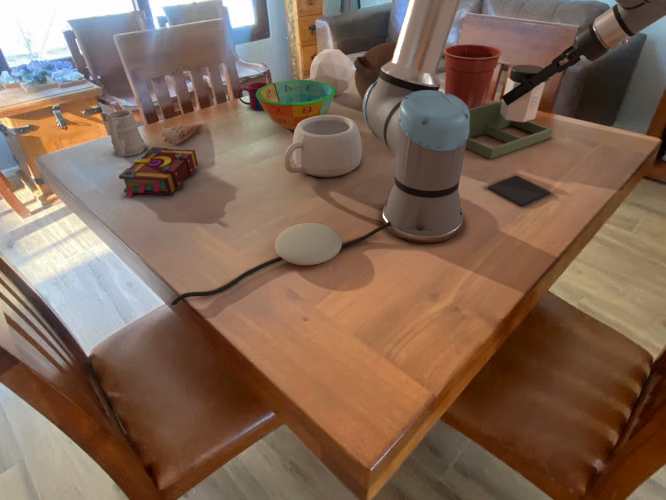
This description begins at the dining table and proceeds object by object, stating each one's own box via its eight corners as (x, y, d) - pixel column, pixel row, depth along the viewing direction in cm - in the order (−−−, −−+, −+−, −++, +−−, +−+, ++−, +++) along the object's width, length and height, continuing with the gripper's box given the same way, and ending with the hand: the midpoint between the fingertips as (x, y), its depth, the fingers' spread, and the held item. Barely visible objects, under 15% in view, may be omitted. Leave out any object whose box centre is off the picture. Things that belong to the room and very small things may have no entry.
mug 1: (149, 143, 117) (135, 99, 109) (137, 163, 107) (122, 116, 100) (120, 145, 116) (105, 101, 109) (106, 165, 107) (88, 118, 100)
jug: (356, 101, 140) (374, 154, 120) (345, 41, 126) (364, 90, 105) (417, 85, 139) (446, 135, 119) (413, 23, 124) (445, 68, 104)
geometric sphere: (323, 111, 148) (295, 78, 139) (334, 83, 155) (308, 50, 146) (356, 96, 139) (328, 59, 130) (366, 67, 146) (339, 30, 137)
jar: (518, 125, 108) (531, 75, 101) (493, 115, 113) (503, 67, 106) (541, 117, 112) (555, 69, 104) (515, 108, 117) (527, 62, 110)
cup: (270, 110, 135) (267, 88, 131) (239, 111, 135) (235, 89, 131) (272, 103, 141) (270, 81, 137) (242, 104, 141) (239, 82, 137)
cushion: (278, 231, 82) (277, 218, 80) (341, 229, 82) (340, 216, 80) (272, 272, 73) (270, 258, 71) (343, 270, 73) (343, 256, 71)
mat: (521, 206, 87) (522, 204, 87) (487, 188, 93) (488, 186, 93) (550, 194, 91) (550, 191, 90) (515, 177, 97) (516, 175, 97)
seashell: (159, 149, 113) (154, 131, 110) (199, 125, 127) (195, 108, 124) (173, 152, 112) (168, 133, 109) (212, 126, 126) (208, 109, 123)
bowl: (351, 128, 122) (351, 92, 116) (283, 148, 112) (279, 110, 106) (310, 107, 137) (308, 74, 131) (247, 123, 127) (242, 88, 121)
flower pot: (481, 118, 126) (493, 60, 116) (429, 109, 133) (435, 54, 123) (496, 101, 137) (508, 47, 127) (447, 94, 144) (454, 42, 134)
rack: (490, 159, 104) (496, 127, 100) (453, 141, 113) (458, 111, 108) (549, 138, 113) (558, 108, 108) (511, 123, 122) (518, 95, 117)
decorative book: (199, 166, 105) (195, 147, 102) (169, 199, 93) (163, 179, 90) (157, 163, 107) (151, 145, 104) (121, 196, 94) (114, 176, 91)
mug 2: (328, 144, 114) (327, 107, 107) (376, 163, 104) (377, 123, 98) (264, 171, 102) (258, 131, 96) (311, 196, 92) (308, 153, 86)
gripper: (598, 60, 87) (503, 120, 105) (620, 41, 100) (533, 97, 118) (579, 28, 86) (487, 94, 104) (604, 13, 99) (518, 74, 117)
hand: (511, 96), depth 111 cm, fingers closed on jar, 8 cm apart
